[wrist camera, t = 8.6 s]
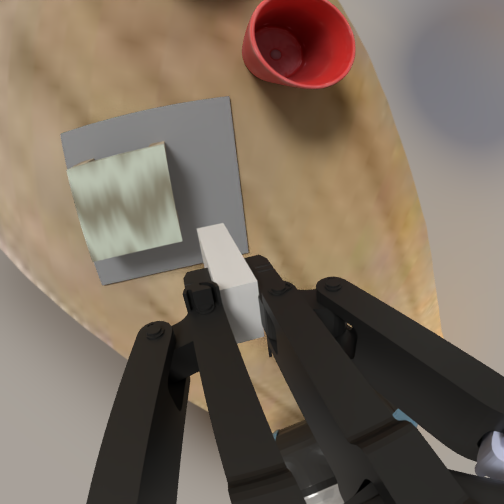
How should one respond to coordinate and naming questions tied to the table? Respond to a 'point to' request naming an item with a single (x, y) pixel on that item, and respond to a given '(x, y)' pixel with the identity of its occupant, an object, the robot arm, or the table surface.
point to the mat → (173, 176)
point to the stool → (125, 202)
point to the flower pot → (298, 43)
